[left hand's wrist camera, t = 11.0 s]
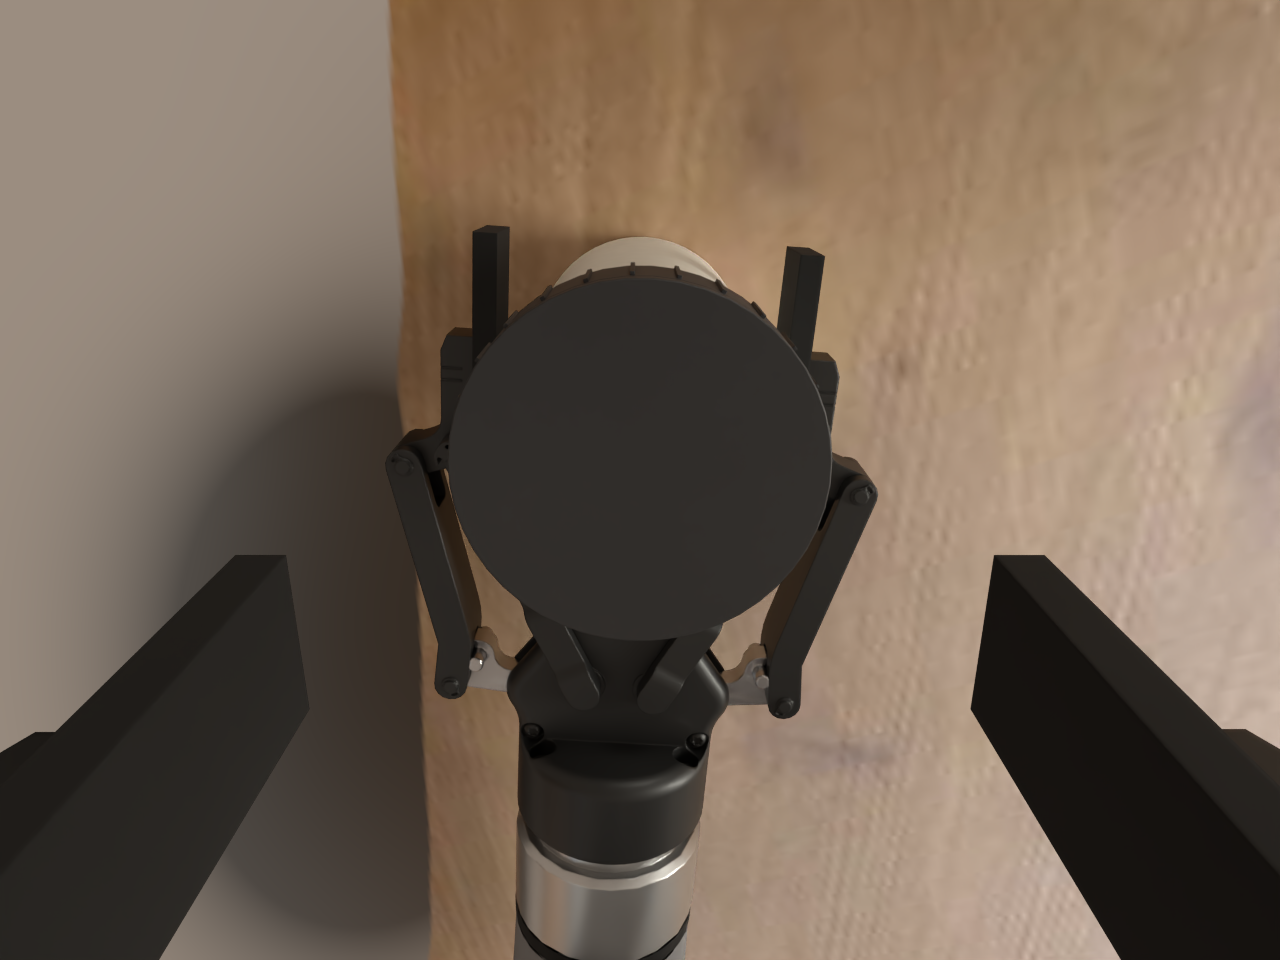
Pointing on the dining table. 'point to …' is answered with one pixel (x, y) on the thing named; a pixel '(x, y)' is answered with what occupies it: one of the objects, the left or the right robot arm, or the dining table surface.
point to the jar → (639, 258)
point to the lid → (639, 454)
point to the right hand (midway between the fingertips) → (649, 240)
